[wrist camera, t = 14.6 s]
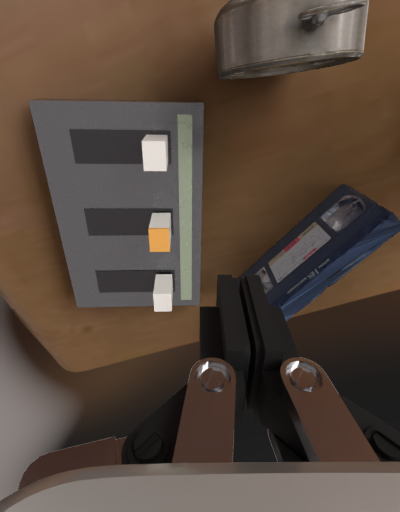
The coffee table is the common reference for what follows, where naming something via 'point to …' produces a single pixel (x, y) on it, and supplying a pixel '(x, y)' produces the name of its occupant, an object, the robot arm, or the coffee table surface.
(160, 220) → the block
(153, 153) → the breaker
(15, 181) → the coffee table surface
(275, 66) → the dial indicator gauge
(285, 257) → the vhs cassette tape
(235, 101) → the coffee table surface
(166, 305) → the block
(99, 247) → the breaker panel
